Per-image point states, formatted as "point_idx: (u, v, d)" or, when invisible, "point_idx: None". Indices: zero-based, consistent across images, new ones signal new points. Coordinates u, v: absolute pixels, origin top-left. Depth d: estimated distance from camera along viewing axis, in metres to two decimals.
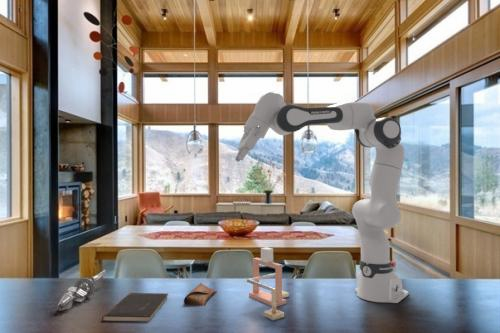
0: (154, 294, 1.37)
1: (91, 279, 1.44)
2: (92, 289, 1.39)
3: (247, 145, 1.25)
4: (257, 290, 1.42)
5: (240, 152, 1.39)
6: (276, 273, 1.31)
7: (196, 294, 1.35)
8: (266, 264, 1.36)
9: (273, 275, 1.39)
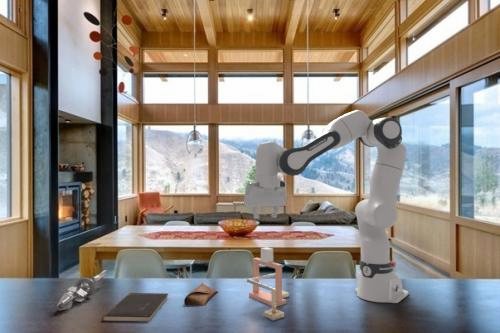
0: (154, 294, 1.37)
1: (92, 279, 1.44)
2: (92, 289, 1.39)
3: (245, 205, 1.32)
4: (257, 290, 1.42)
5: (274, 208, 1.41)
6: (276, 273, 1.31)
7: (197, 294, 1.35)
8: (266, 264, 1.36)
9: (273, 275, 1.39)
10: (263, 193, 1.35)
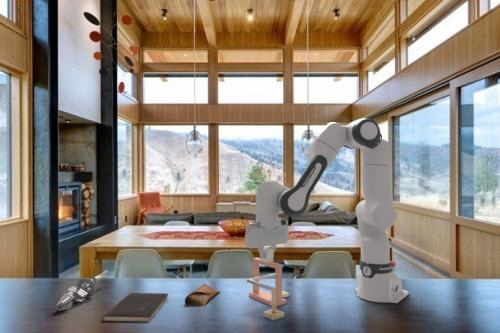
0: (155, 294, 1.37)
1: (93, 279, 1.44)
2: (93, 289, 1.39)
3: (246, 246, 1.32)
4: (257, 290, 1.42)
5: (271, 246, 1.40)
6: (276, 273, 1.31)
7: (198, 294, 1.35)
8: (266, 264, 1.36)
9: (273, 275, 1.39)
10: (263, 233, 1.35)
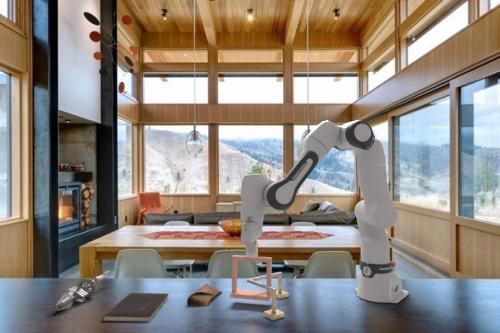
0: (155, 294, 1.37)
1: (94, 279, 1.44)
2: (94, 289, 1.38)
3: (243, 243, 1.24)
4: (236, 289, 1.34)
5: None
6: (269, 266, 1.30)
7: (200, 295, 1.35)
8: (253, 259, 1.32)
9: (273, 275, 1.39)
10: (254, 227, 1.30)
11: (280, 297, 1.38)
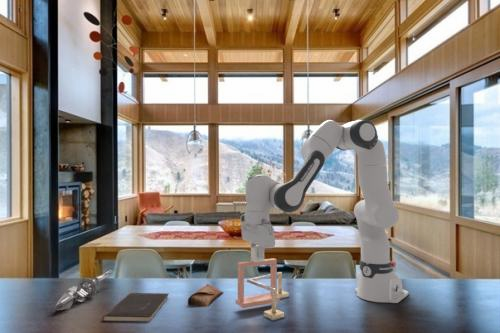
0: (155, 294, 1.37)
1: (95, 279, 1.44)
2: (94, 289, 1.38)
3: (269, 247, 1.19)
4: None
5: (253, 245, 1.31)
6: (275, 267, 1.30)
7: (201, 295, 1.34)
8: (260, 263, 1.28)
9: None
10: None
11: (280, 297, 1.38)
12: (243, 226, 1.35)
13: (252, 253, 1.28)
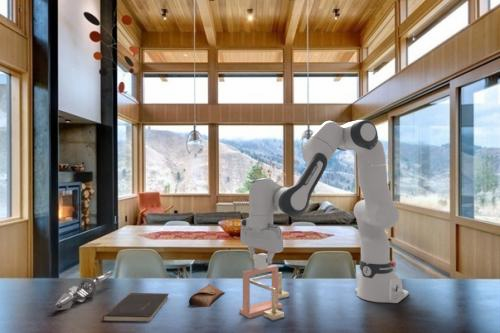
0: (155, 294, 1.37)
1: (95, 279, 1.44)
2: (94, 289, 1.38)
3: (278, 251, 1.19)
4: None
5: (252, 248, 1.30)
6: (277, 274, 1.30)
7: (202, 295, 1.34)
8: (264, 271, 1.26)
9: None
10: None
11: (280, 297, 1.38)
12: (243, 231, 1.32)
13: (256, 261, 1.25)
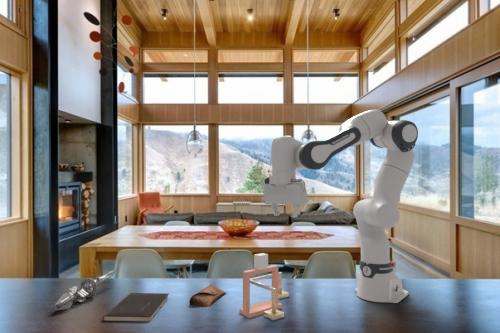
0: (155, 294, 1.37)
1: (96, 279, 1.44)
2: (95, 290, 1.38)
3: (303, 203, 1.22)
4: None
5: (275, 206, 1.34)
6: (277, 274, 1.30)
7: (203, 295, 1.34)
8: (264, 271, 1.26)
9: None
10: None
11: (280, 297, 1.38)
12: (266, 189, 1.35)
13: (256, 261, 1.25)
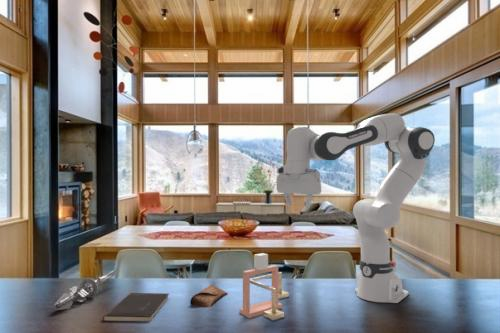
0: (155, 294, 1.37)
1: (97, 279, 1.44)
2: (95, 290, 1.38)
3: (316, 193, 1.24)
4: None
5: (287, 195, 1.36)
6: (277, 274, 1.30)
7: (204, 295, 1.34)
8: (264, 271, 1.26)
9: None
10: None
11: (280, 297, 1.38)
12: (279, 179, 1.37)
13: (256, 261, 1.25)
